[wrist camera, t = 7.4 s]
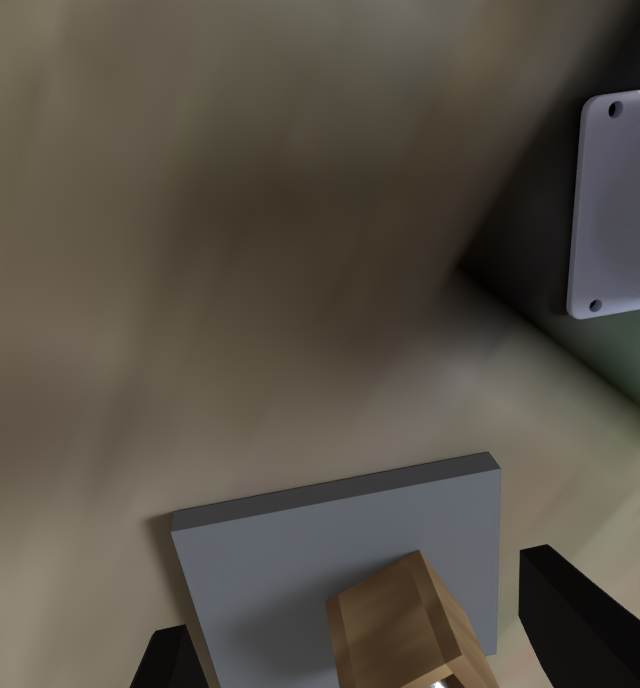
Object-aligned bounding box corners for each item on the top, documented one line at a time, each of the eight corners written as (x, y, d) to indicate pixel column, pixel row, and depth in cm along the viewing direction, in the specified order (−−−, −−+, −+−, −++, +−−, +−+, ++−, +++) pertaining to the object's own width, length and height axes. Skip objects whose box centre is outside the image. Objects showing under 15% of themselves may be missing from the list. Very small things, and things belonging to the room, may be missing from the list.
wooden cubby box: (419, 549, 23) (462, 654, 18) (464, 610, 25) (513, 719, 20) (325, 602, 23) (344, 717, 19) (376, 657, 25) (405, 773, 21)
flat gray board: (488, 451, 23) (500, 468, 22) (486, 633, 28) (496, 653, 27) (174, 511, 22) (170, 532, 21) (229, 688, 27) (228, 712, 26)
